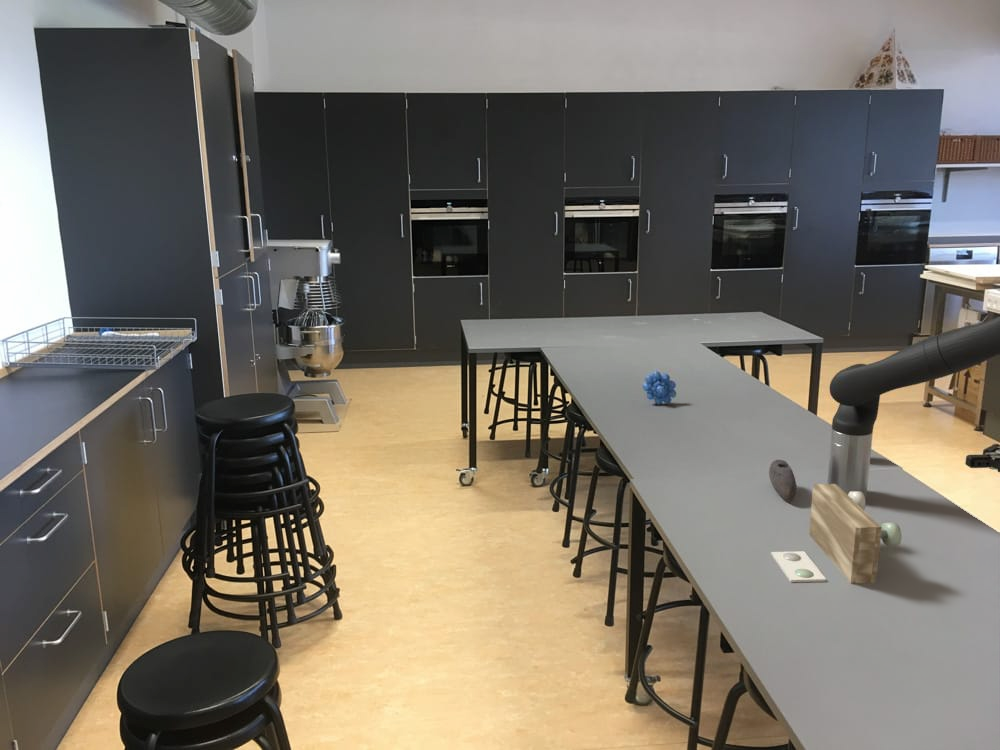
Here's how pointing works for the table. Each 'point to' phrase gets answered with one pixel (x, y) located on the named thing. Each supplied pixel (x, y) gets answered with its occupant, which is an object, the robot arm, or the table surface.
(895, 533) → the button sage
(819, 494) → the light wood rectangular block
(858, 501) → the button white
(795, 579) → the pattern card
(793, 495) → the perforated stone tool
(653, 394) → the blue bumpy cluster
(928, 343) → the robot arm
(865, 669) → the table surface
